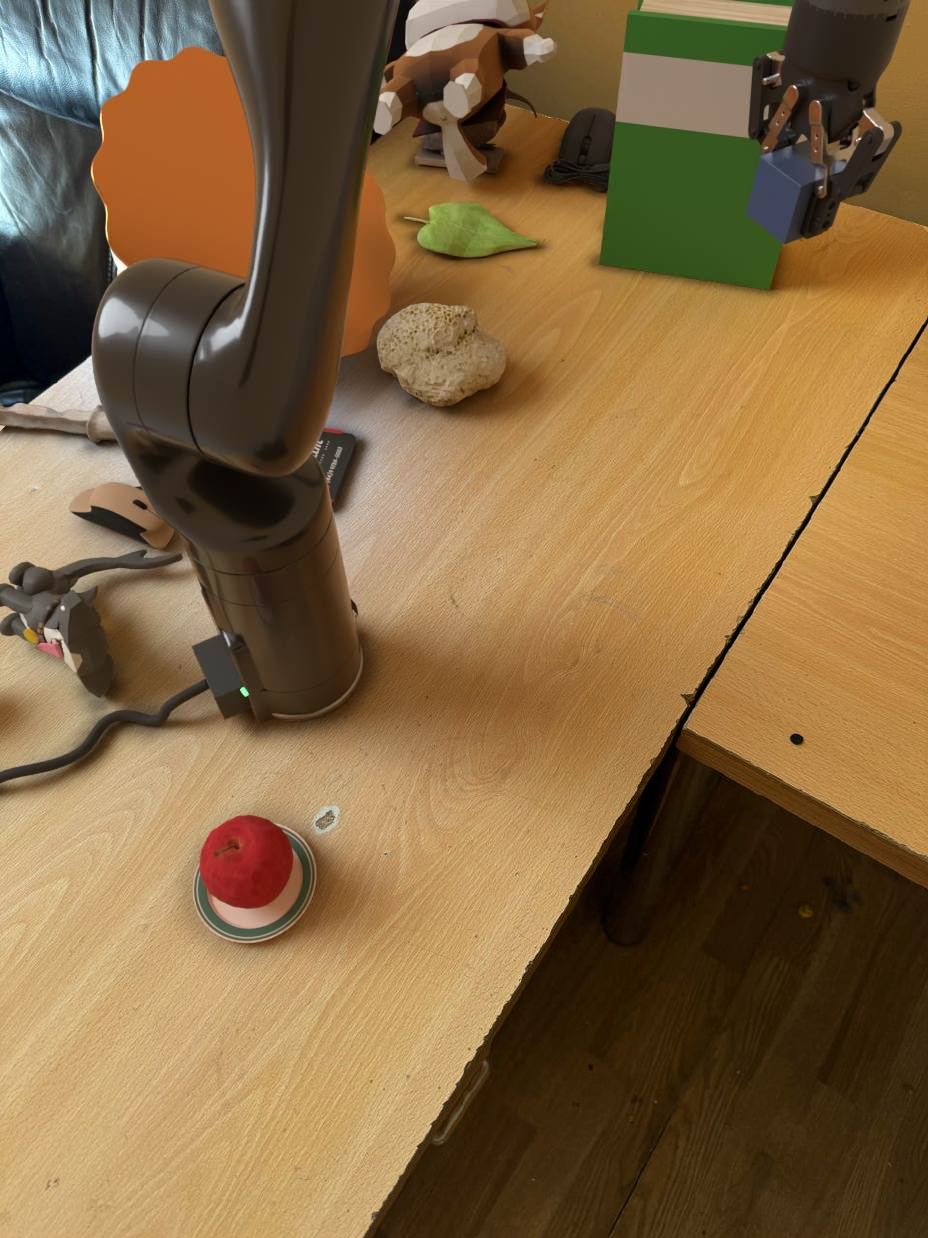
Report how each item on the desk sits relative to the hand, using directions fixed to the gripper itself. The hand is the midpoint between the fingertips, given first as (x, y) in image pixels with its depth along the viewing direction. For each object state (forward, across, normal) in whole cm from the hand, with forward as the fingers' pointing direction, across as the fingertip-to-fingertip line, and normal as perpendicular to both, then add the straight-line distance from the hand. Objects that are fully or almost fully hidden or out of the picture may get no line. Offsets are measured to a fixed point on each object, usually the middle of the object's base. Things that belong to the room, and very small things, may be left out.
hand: (789, 216), depth 77 cm
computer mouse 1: (+15, -10, -57) cm, 60 cm away
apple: (+15, +25, -60) cm, 66 cm away
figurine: (+16, -44, -5) cm, 47 cm away
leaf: (+16, -32, -14) cm, 38 cm away
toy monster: (+13, -3, -69) cm, 70 cm away
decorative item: (+15, -13, -26) cm, 33 cm away
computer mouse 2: (+16, -39, +7) cm, 42 cm away
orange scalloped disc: (+1, -24, -37) cm, 44 cm away
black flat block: (+15, -5, -39) cm, 42 cm away
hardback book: (+16, -17, +6) cm, 24 cm away
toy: (+4, -36, -16) cm, 39 cm away
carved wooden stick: (+16, -20, -55) cm, 61 cm away
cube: (0, 0, 0) cm, 0 cm away
